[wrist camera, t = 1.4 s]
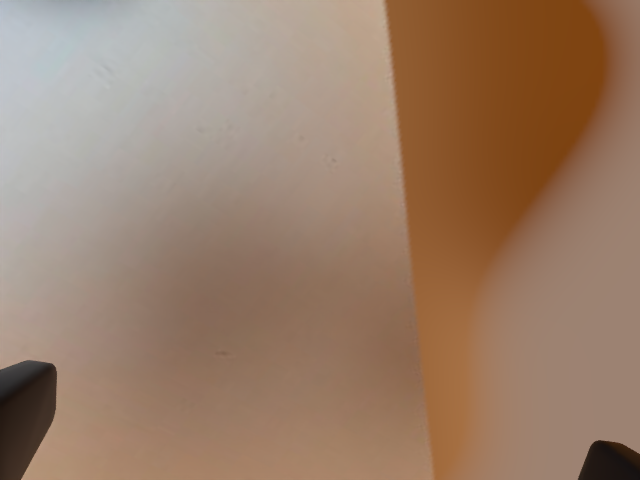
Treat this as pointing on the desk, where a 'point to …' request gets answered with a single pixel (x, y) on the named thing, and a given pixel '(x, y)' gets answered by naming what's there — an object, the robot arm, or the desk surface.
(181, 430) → the desk surface
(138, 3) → the desk surface
